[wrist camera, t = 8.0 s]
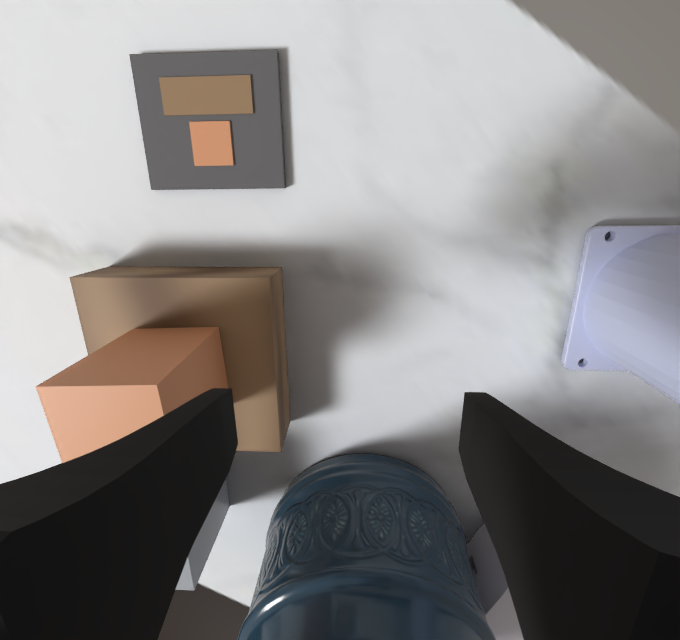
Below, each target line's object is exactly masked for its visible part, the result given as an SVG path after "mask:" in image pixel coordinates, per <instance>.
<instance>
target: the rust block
mask: <svg viewBox="0 0 680 640" xmlns="http://www.w3.org/2000/svg"><path fill="white" fill-rule="evenodd" d="M212 388H228V382H227V376H226V369H225V363H224V357H223V351H222V344H221V338H220V332H219V327H188V328H147V329H132V330H130V331H129V332H127V333H125V334H123V335H122V336H120V337H118V338H117V339H115V340H113V341H112V342H110V343H108V344H107V345H105V346H103V347H102V348H100V349H98V350H97V351H95V352H93V353H92V354H90V355H88V356H86V357H85V358H83V359H81V360H80V361H78V362H76V363H75V364H73V365H71V366H70V367H68V368H66V369H65V370H63V371H61V372H60V373H58V374H56V375H55V376H53V377H51V378H49V379H48V380H46V381H44V382H43V383H41V384H39V385H38V386H36V389H37V392H38V395H39V398H40V401H41V403H42V406H43V409H44V412H45V415H46V418H47V421H48V423H49V426H50V429H51V432H52V435H53V438H54V441H55V443H56V446H57V449H58V452H59V455H60V458H61V461H62V463H64V462H67V461H69V460H72V459H75V458H77V457H80V456H83V455H85V454H87V453H90V452H92V451H94V450H97V449H99V448H101V447H103V446H106V445H108V444H110V443H112V442H114V441H117V440H119V439H121V438H123V437H125V436H127V435H129V434H131V433H133V432H134V431H136V430H138V429H140V428H142V427H144V426H146V425H147V424H149V423H151V422H153V421H155V420H157V419H159V418H160V417H162V416H164V415H166V414H167V413H169V412H171V411H172V410H174V409H176V408H178V407H179V406H181V405H183V404H184V403H186V402H188V401H190V400H191V399H193V398H195V397H197V396H198V395H200V394H202V393H204V392H206V391H208V390H210V389H212Z"/></svg>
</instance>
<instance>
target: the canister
mask: <svg viewBox="0 0 680 640" xmlns="http://www.w3.org/2000/svg"><path fill="white" fill-rule="evenodd" d="M238 640H496V638H495V636H494V634H493V632H492V630H491V628H490V627H489V625H488V622H487V619H486V616H485V612H484V609H483V606H482V602H481V599H480V596H479V592H478V589H477V586H476V582H475V579H474V576H473V572H472V569H471V566H470V562H469V559H468V556H467V545H466V539H465V535H464V532H463V529H462V526H461V523H460V520H459V518H458V515H457V513H456V511H455V510H454V508H453V506H452V505H451V503H450V502H449V500H448V498H447V496H446V495H445V493H444V492H443V490H442V489H441V488H440V486H439V485H438V484H437V483H436V482H435V481H434V480H433V479H432V478H431V477H430V476H428V475H427V474H426V473H424V472H423V471H421V470H420V469H418V468H417V467H415V466H413V465H411V464H409V463H406V462H404V461H401V460H398V459H395V458H392V457H388V456H383V455H376V454H350V455H343V456H338V457H334V458H330V459H327V460H324V461H322V462H320V463H317V464H315V465H314V466H312V467H310V468H308V469H307V470H305V471H304V472H303V473H301V474H300V475H299V476H298V477H297V478H295V479H294V481H293V482H292V483H291V484H290V485H289V486H288V488H287V489H286V491H285V492H284V494H283V496H282V498H281V500H280V502H279V503H278V505H277V507H276V508H275V510H274V513H273V515H272V518H271V522H270V526H269V528H268V532H267V537H266V551H265V554H264V558H263V562H262V566H261V569H260V573H259V577H258V580H257V584H256V588H255V592H254V595H253V599H252V603H251V607H250V610H249V614H248V616H247V617H246V619H245V621H244V623H243V625H242V627H241V629H240V632H239V636H238Z"/></svg>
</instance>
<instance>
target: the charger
mask: <svg viewBox="0 0 680 640" xmlns="http://www.w3.org/2000/svg"><path fill="white" fill-rule="evenodd" d="M471 555H472V558H471V559H470V560H469V562H470V566H471V569H472V572H473V576H474V579H475V582H476V586H477V589H478V592H479V596H480V599H481V602H482V606H483V609H484V612H485V616H486V619H487V622H488V625H489V627H490V628H491V630H492V632H493V634H494V636H495V638H496V640H524V639H523V635H522V632H521V628H520V625H519V621H518V618H517V614H516V611H515V608H514V604H513V601H512V598H511V595H510V591H509V588H508V585H507V581H506V578H505V575H504V572H503V569H502V566H501V563H500V560H499V558H498V555H497V552H496V550H495V547H494V545H493V543H492V540H491V538H490V535H489V533H488V531H487V528H486V526H485V523H483V525H482V526H481V527H480V528H479V530H478V531H477V532H476V534H475V535H474V536H473V537H472V539H471V540H470V541H469V543H468V544H467V556H468V559H469V558H470V557H471Z"/></svg>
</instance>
